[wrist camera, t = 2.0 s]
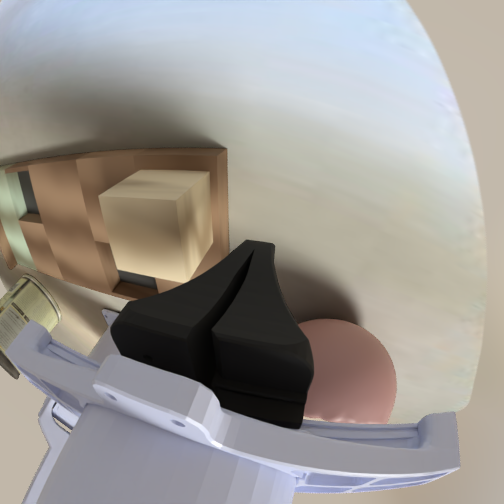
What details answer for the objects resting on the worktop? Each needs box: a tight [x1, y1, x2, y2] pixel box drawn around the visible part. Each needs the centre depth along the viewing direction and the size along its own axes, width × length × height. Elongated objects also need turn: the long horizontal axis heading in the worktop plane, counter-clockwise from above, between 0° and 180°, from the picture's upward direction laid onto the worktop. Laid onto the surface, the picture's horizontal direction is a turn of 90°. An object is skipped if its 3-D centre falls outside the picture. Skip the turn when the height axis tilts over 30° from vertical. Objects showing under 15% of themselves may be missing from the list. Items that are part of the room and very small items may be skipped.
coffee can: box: [0, 274, 61, 379], centre depth 30 cm, size 10×10×14 cm
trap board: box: [0, 148, 229, 301], centre depth 22 cm, size 14×33×4 cm, turn 89°
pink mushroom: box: [298, 319, 397, 424], centre depth 20 cm, size 12×12×12 cm
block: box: [98, 170, 213, 283], centre depth 16 cm, size 5×5×4 cm
